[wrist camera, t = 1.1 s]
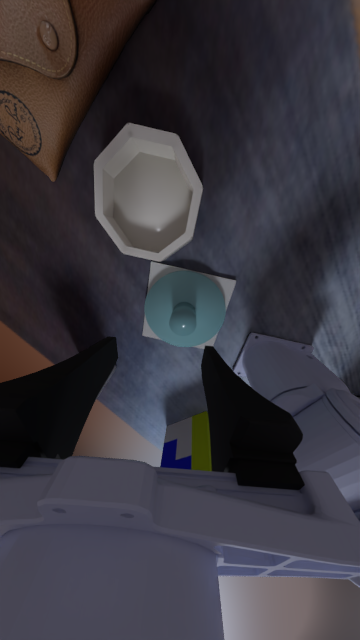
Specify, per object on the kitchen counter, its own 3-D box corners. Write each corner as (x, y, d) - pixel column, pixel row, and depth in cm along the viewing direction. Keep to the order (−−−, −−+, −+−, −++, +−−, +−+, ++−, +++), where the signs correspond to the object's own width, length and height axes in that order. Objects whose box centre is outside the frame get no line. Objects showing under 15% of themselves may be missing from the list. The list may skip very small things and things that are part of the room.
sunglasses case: (55, 190, 17) (-49, 121, 11) (36, 156, 19) (-64, 79, 13) (170, -20, 11) (80, -405, 5) (127, -43, 13) (22, -355, 7)
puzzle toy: (166, 425, 34) (156, 490, 25) (205, 410, 31) (210, 478, 22) (192, 449, 37) (192, 514, 28) (230, 437, 34) (244, 506, 25)
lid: (236, 280, 20) (246, 288, 16) (211, 350, 24) (214, 369, 20) (151, 261, 19) (140, 264, 16) (142, 335, 24) (132, 351, 20)
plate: (235, 280, 20) (236, 280, 20) (211, 349, 25) (211, 350, 24) (151, 261, 20) (151, 261, 19) (143, 334, 24) (142, 335, 24)
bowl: (209, 161, 15) (212, 142, 13) (187, 265, 20) (186, 267, 17) (110, 138, 15) (92, 114, 13) (109, 247, 20) (95, 247, 17)
